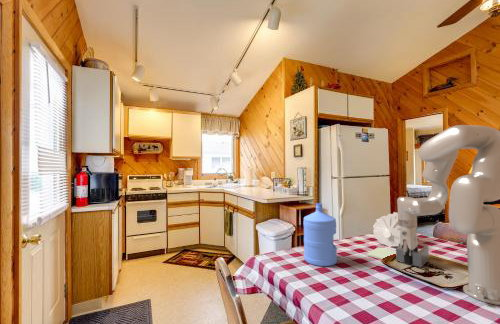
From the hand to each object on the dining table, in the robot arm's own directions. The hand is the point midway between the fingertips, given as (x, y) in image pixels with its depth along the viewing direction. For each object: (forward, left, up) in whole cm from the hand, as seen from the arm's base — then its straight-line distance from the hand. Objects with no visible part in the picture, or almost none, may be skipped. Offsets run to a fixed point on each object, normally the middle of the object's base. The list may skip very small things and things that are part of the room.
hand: (409, 262), depth 112 cm
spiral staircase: (+30, +15, -1) cm, 34 cm away
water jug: (-26, +31, -1) cm, 41 cm away
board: (+5, +13, -1) cm, 14 cm away
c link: (+6, 0, 0) cm, 6 cm away
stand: (+11, 0, -1) cm, 11 cm away
